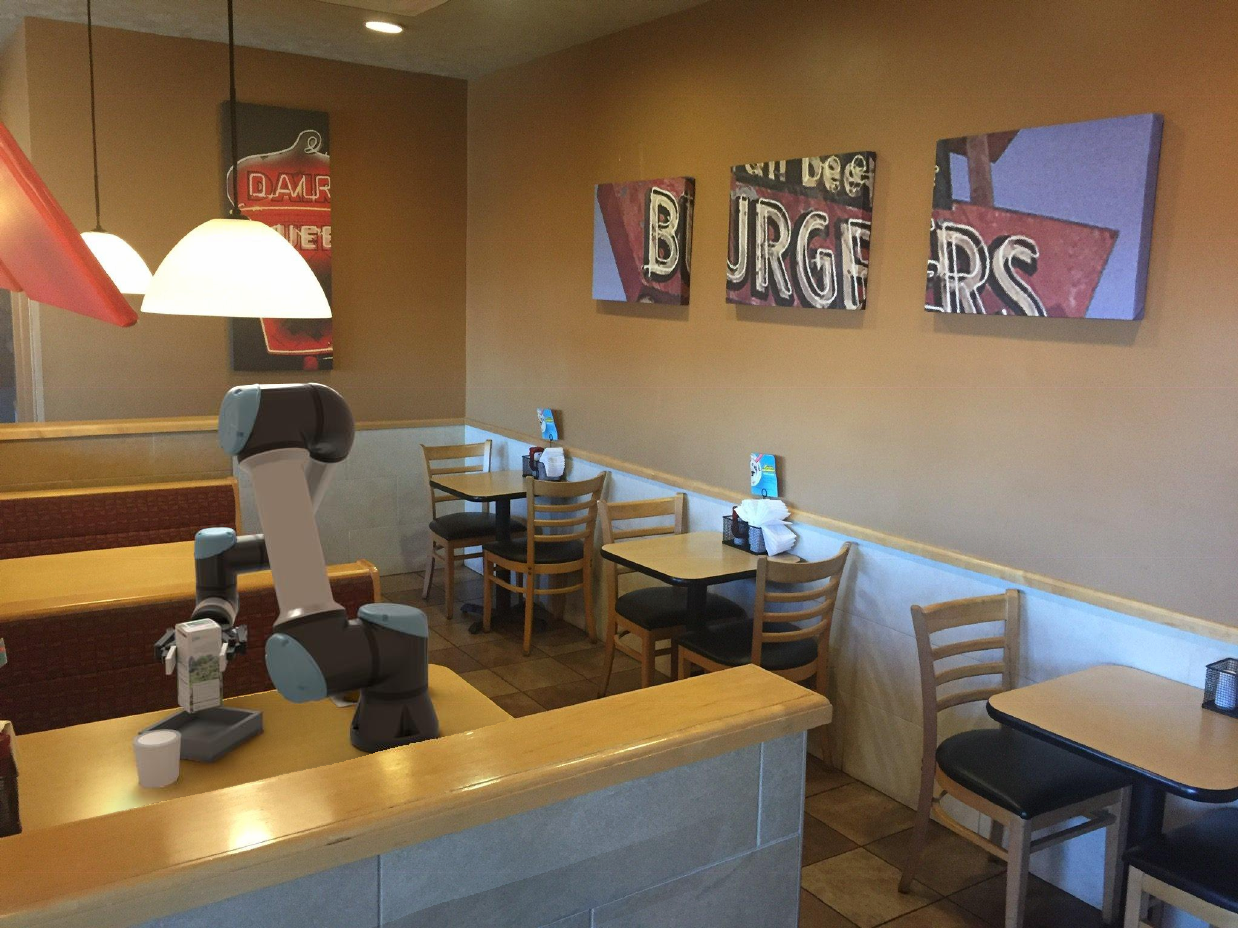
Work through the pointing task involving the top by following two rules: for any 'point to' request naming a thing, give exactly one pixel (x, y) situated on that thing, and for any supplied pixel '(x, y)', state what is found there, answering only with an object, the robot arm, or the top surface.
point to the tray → (211, 731)
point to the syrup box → (199, 665)
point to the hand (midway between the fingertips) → (195, 664)
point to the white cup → (157, 757)
